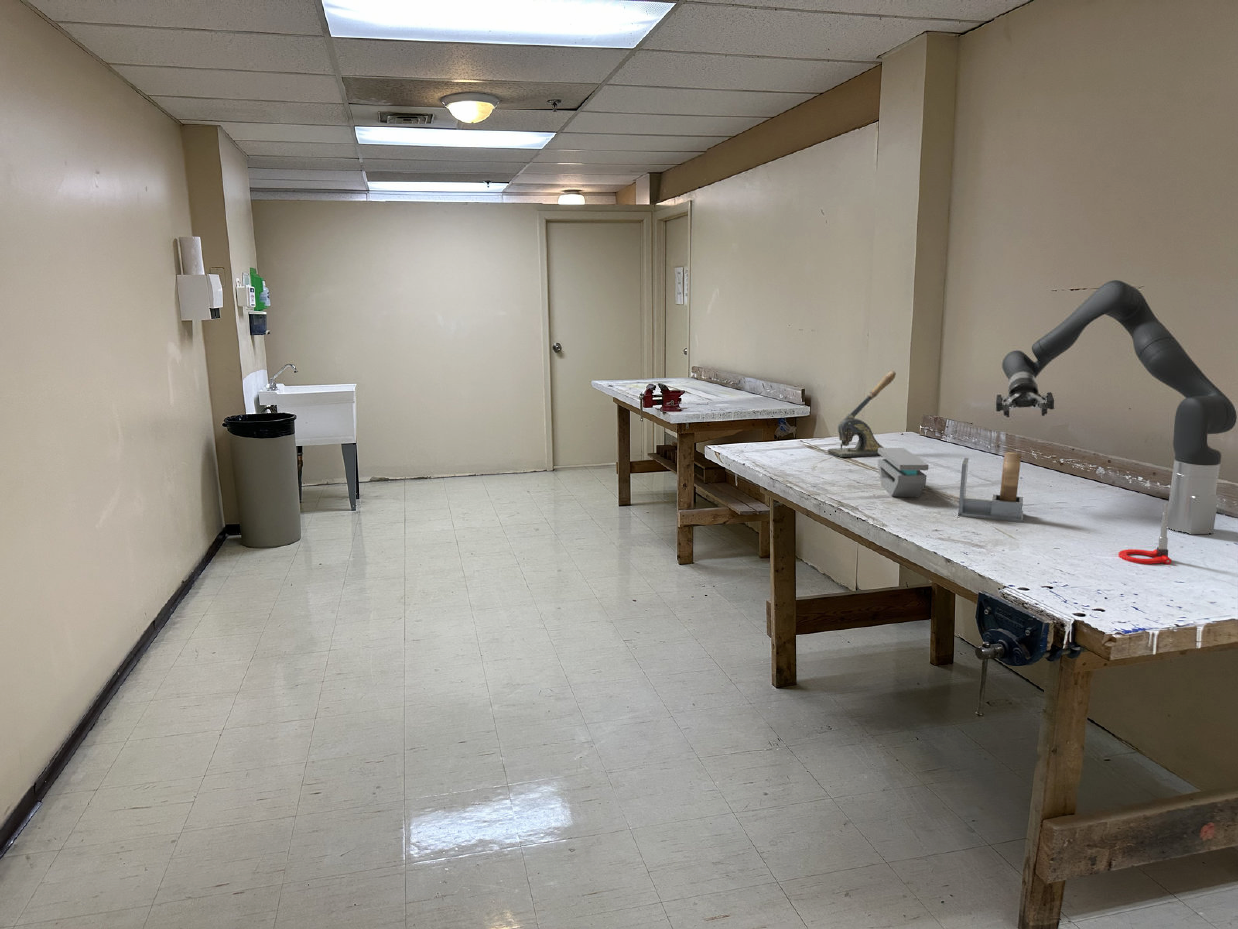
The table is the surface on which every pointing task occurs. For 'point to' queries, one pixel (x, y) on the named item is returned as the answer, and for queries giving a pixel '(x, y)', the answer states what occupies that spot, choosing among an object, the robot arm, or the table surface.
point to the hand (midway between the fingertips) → (1025, 413)
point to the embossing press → (860, 427)
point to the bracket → (987, 504)
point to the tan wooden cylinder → (1010, 477)
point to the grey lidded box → (901, 472)
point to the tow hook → (1158, 553)
